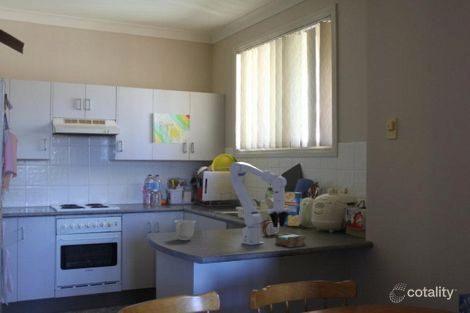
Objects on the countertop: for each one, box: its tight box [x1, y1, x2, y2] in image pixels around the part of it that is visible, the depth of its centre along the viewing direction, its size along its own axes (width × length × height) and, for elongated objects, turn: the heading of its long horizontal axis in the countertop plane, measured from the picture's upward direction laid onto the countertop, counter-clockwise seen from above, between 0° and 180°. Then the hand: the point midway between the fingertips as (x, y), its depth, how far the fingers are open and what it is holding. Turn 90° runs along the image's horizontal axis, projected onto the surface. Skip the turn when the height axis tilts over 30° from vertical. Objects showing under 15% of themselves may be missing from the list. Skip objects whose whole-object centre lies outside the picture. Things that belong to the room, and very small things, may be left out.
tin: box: [261, 220, 281, 237], centre depth 299 cm, size 15×3×8 cm, turn 141°
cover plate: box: [278, 233, 300, 240], centre depth 267 cm, size 11×8×1 cm
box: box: [274, 232, 306, 248], centre depth 266 cm, size 12×10×5 cm
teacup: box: [173, 219, 197, 241], centre depth 277 cm, size 12×15×10 cm
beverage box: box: [284, 191, 303, 227], centre depth 346 cm, size 7×11×22 cm, turn 71°
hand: (278, 226), depth 261 cm, fingers open, 4 cm apart
